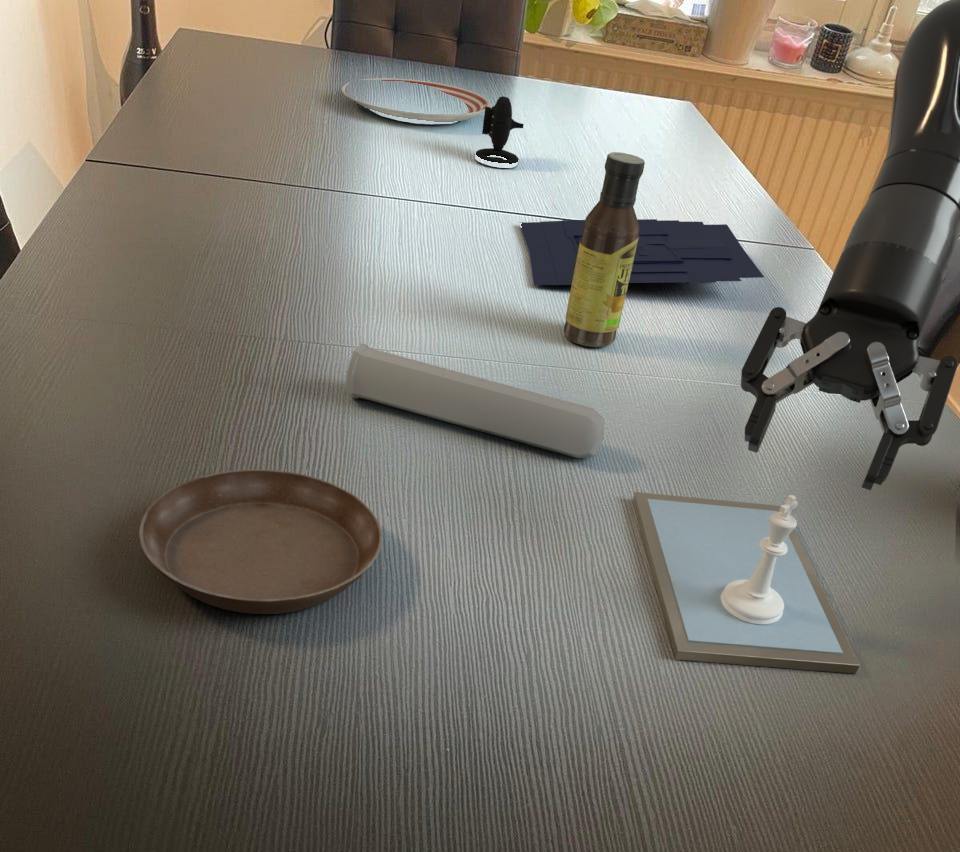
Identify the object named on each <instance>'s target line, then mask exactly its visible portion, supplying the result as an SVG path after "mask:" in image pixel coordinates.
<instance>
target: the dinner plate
mask: <svg viewBox="0 0 960 852" xmlns="http://www.w3.org/2000/svg"><path fill="white" fill-rule="evenodd" d="M361 80H382V81H405V82H410V83H418V84H423V85H428V86H431V87H432V88H435V89H437V90H439V91H442V92H444V93H446V94H449V95H452V96H455V97H456V98H458V99H460V100H462V101H463V102H464V103H465V104H466V105H467V107H468V111H467V113H463V114H424V113H413V112H405V111H399V110H393V109H388V108H383V107H378V106H374V105H371V104H367V103H364V102H361V101H359V100H357V99H354V98H352V97H350V96H349V95H348V94H347V92H346V86H347V85H348V84H349V83H350V82H351V81H350V82H346V83H345V84H343V86H341V93H342V94H343V95H344V96H345V97H347V98H348V99H350V100H351V101H352V100H353V101H352V102H354V101H355V102H356V103H355V102H354V103H355V104H357V103H358V104H360V105H362V106H365V107H367V108H369V109H372V110H375V111H378V112H381V113H384V114H387V115H392V116H396V117H403V118H408V119H417V120H426V121H434V122H454V121H461V122H463V121H467V120H471V119H474V118H477V117H479V116H481V115H484V114H485V107H492V106H491V101H490V100H489V99H488V98H486V97H485V96H484V95H482V94H480V93H478V92H475V91H473V90H469V89H466V88H462V87H459V86H454V85H452V84H451V85H450V84H445V83H440V82H434V81H427V80H419V79H409V78H398V77H397V78H393V77H376V78H375V77H374V78H363V79H362V78H361ZM358 104H357V105H358ZM360 105H359V106H360ZM362 106H361V107H362ZM462 120H463V121H462Z"/></svg>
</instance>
